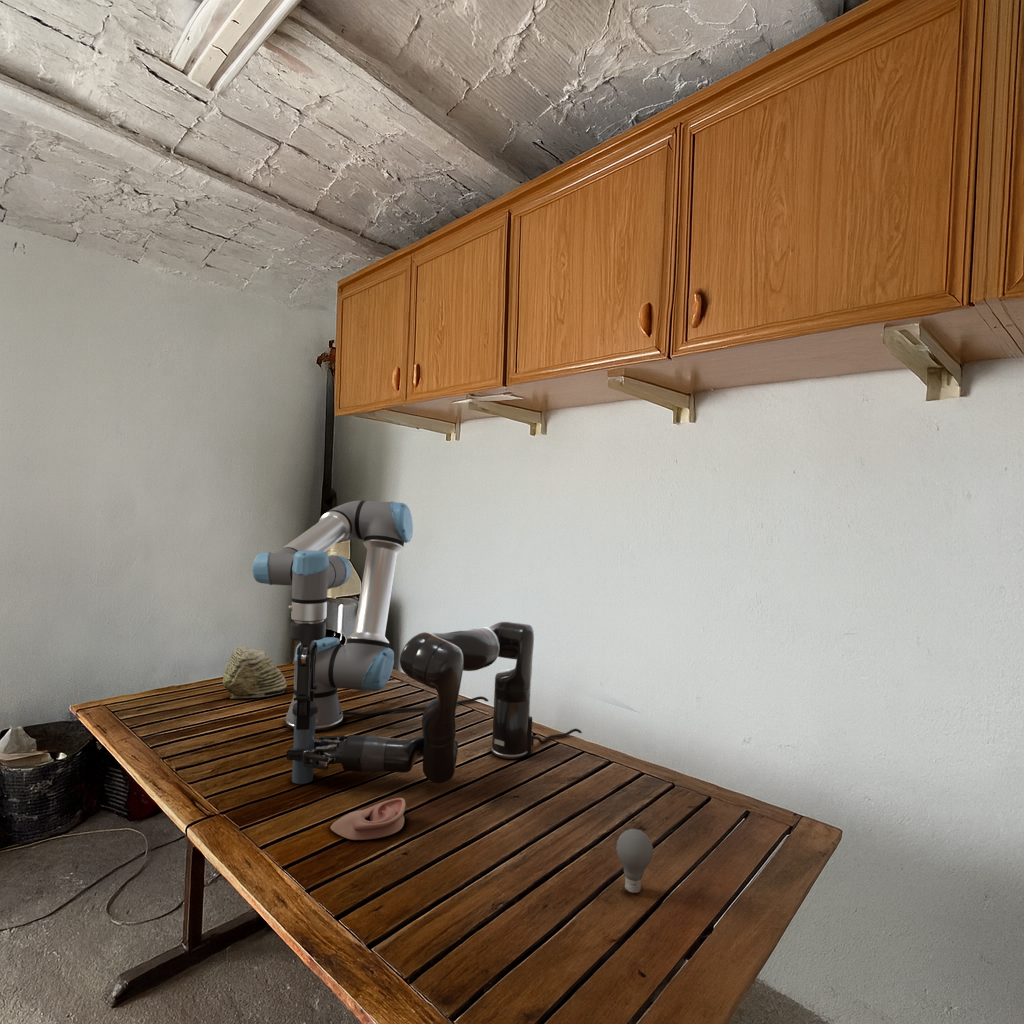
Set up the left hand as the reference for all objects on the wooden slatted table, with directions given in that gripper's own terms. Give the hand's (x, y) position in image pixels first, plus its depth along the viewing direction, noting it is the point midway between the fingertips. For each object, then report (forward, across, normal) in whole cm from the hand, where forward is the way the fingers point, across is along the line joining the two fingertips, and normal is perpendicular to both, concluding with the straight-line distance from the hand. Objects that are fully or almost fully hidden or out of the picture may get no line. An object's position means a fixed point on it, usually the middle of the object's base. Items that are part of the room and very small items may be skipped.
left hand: (304, 723), depth 141 cm
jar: (+12, 0, 0) cm, 12 cm away
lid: (-4, 0, 0) cm, 4 cm away
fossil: (+12, -62, -23) cm, 67 cm away
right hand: (+6, 0, -3) cm, 6 cm away
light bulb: (+12, +48, +59) cm, 77 cm away
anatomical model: (+12, +22, +15) cm, 30 cm away
